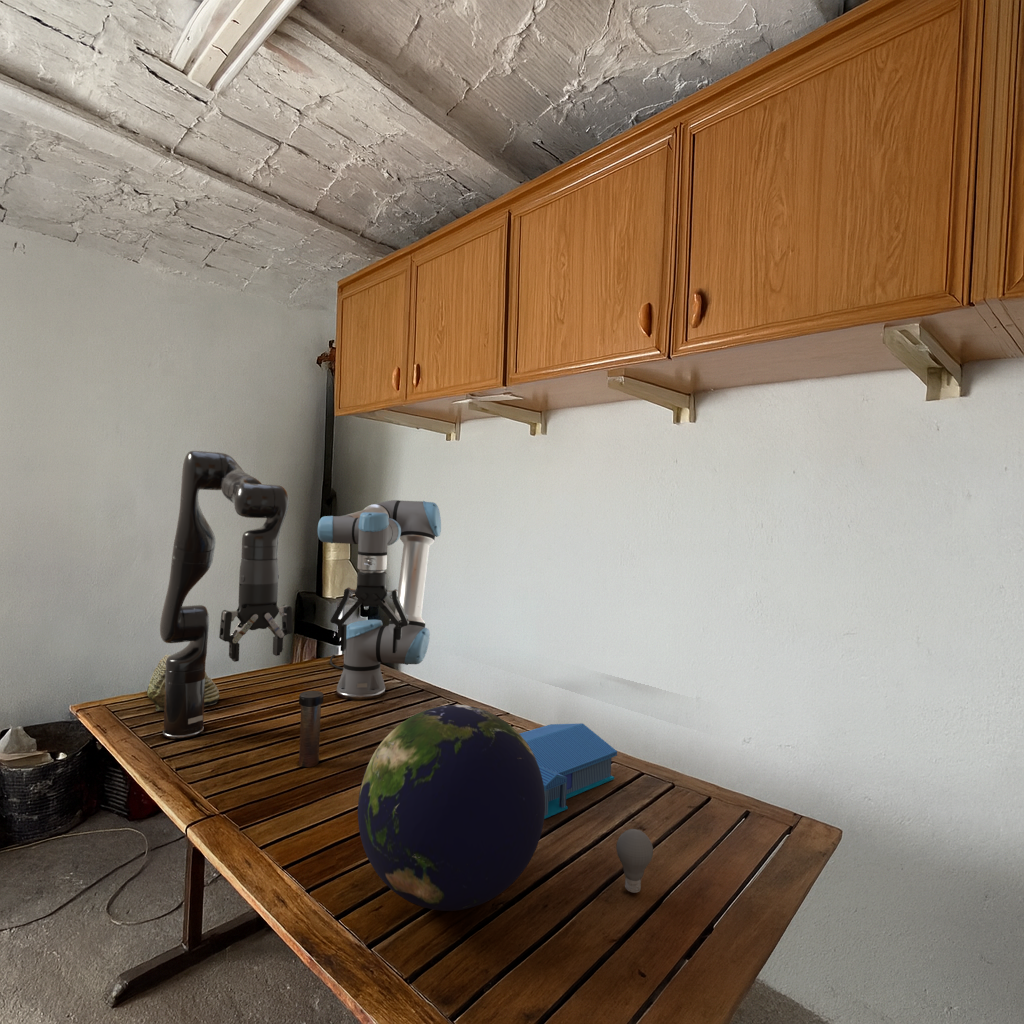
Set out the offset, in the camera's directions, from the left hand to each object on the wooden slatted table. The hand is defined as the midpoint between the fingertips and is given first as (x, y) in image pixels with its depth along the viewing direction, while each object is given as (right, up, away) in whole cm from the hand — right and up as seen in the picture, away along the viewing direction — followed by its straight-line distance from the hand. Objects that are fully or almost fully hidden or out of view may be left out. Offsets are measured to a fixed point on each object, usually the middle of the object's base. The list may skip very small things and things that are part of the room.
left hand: (256, 657), depth 132 cm
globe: (+43, -32, -29) cm, 61 cm away
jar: (+5, -29, +18) cm, 35 cm away
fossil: (-43, -27, +53) cm, 73 cm away
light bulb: (+73, -33, -26) cm, 85 cm away
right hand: (+15, -6, +36) cm, 39 cm away
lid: (+6, -13, +18) cm, 23 cm away
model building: (+57, -32, +10) cm, 66 cm away
